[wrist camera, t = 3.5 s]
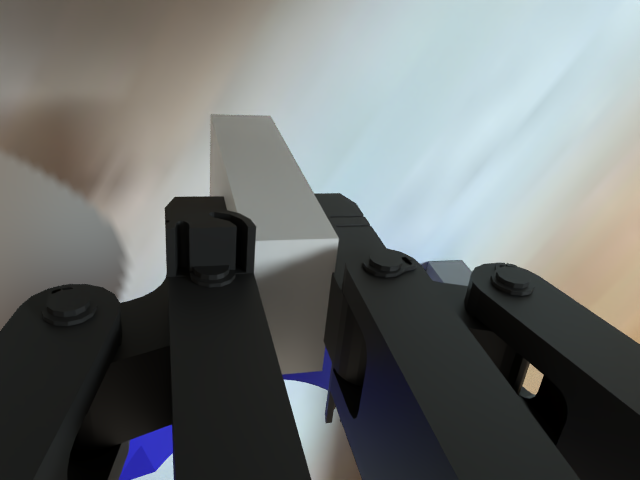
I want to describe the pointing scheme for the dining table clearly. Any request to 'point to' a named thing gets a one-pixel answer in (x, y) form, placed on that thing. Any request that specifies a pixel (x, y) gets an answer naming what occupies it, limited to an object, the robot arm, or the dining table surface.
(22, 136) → the dining table surface
